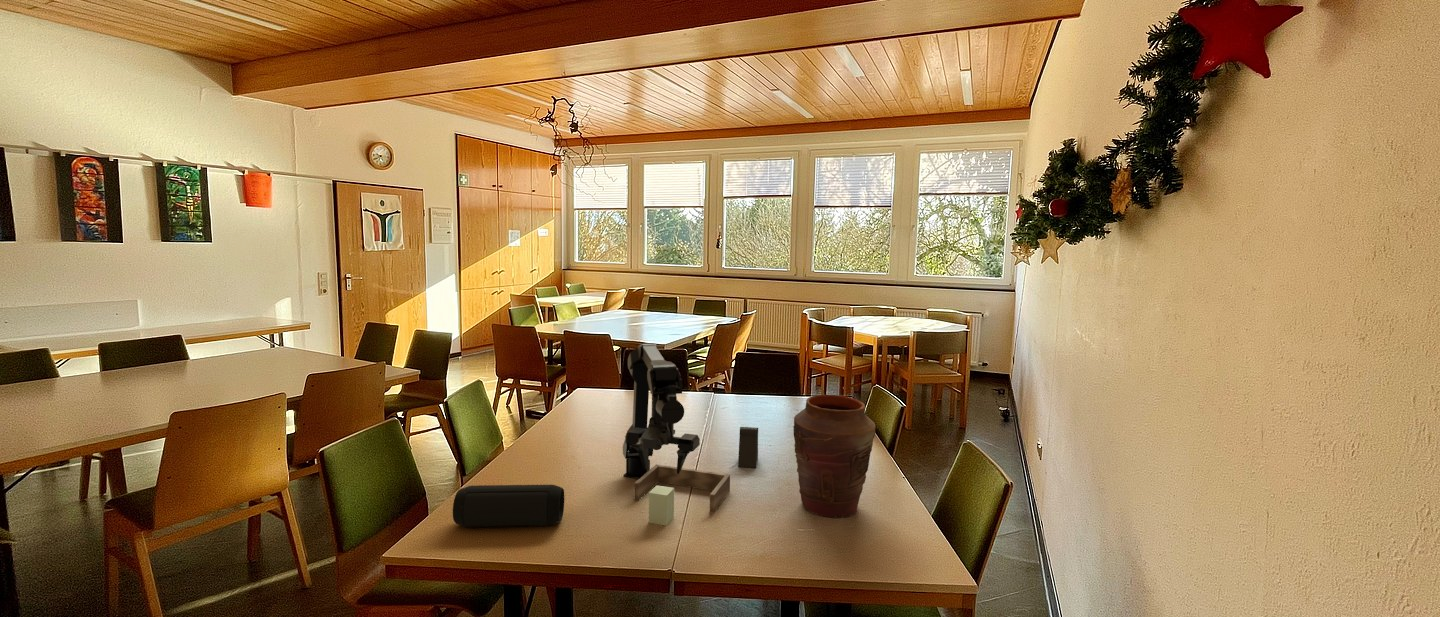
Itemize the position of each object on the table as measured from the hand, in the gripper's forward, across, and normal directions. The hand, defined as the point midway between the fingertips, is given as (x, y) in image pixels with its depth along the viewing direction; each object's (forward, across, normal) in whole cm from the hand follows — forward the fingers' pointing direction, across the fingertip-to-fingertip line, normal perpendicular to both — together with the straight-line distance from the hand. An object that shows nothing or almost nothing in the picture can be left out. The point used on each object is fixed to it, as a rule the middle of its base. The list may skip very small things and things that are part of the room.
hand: (661, 471), depth 154 cm
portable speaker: (+13, -35, -16) cm, 40 cm away
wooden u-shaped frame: (+13, 0, +15) cm, 20 cm away
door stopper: (+13, +11, +47) cm, 50 cm away
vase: (+13, +41, +22) cm, 49 cm away
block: (+13, 0, -1) cm, 13 cm away
